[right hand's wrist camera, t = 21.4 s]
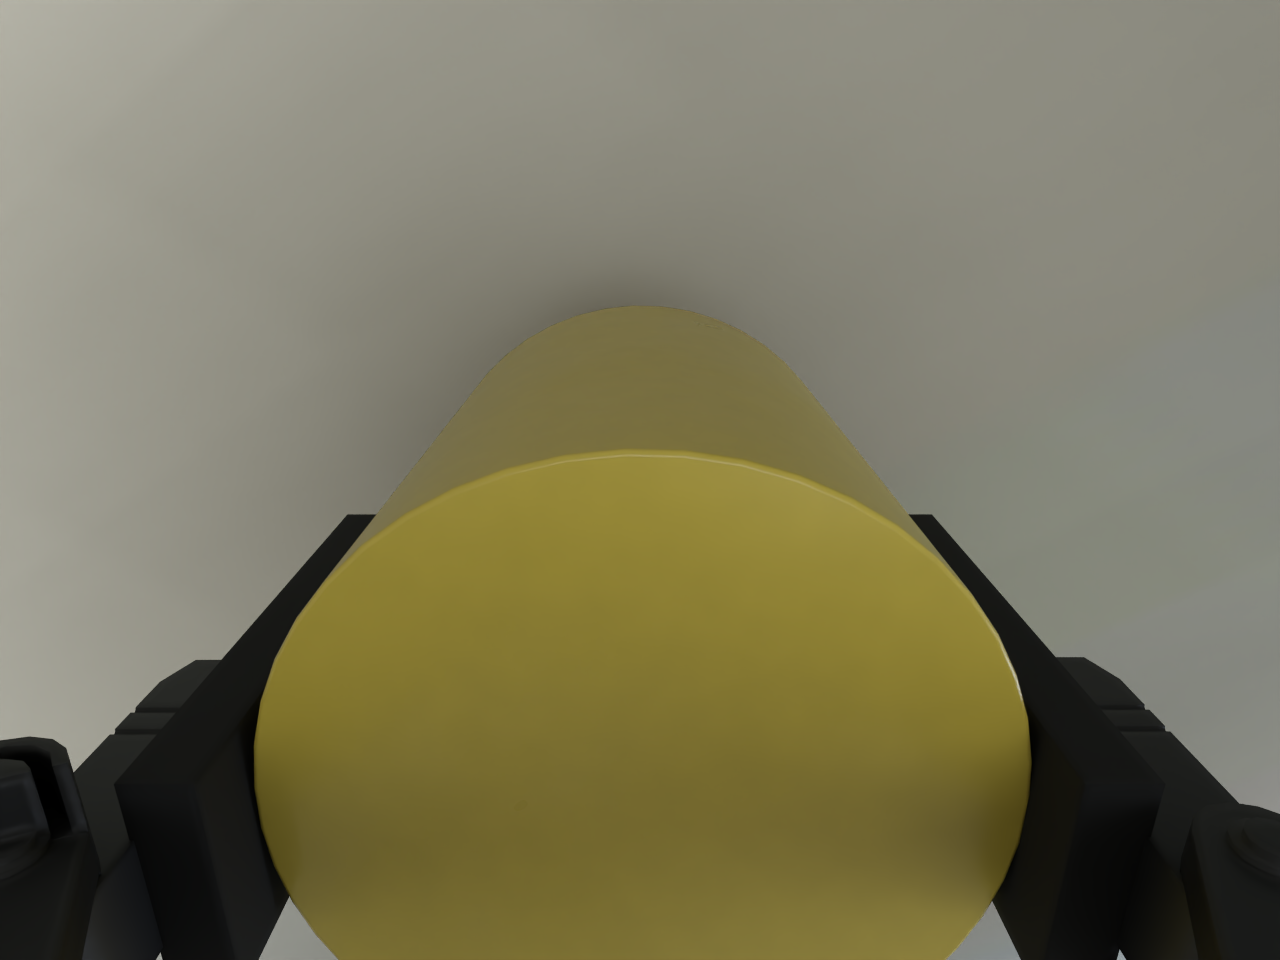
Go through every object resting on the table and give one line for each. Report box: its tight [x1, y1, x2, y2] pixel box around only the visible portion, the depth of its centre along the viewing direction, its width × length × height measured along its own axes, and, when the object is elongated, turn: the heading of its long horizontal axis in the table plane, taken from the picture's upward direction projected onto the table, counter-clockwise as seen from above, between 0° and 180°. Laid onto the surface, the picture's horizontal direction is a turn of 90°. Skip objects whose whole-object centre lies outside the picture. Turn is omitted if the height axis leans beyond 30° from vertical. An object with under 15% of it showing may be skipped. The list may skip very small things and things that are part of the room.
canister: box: [254, 306, 1032, 960], centre depth 13 cm, size 8×8×9 cm
